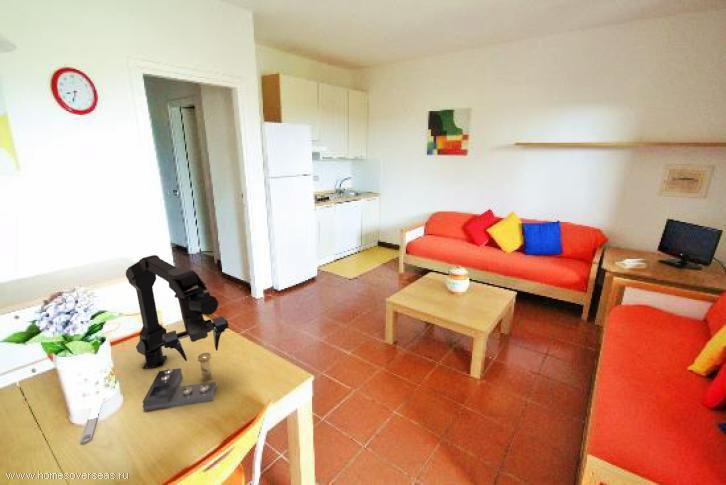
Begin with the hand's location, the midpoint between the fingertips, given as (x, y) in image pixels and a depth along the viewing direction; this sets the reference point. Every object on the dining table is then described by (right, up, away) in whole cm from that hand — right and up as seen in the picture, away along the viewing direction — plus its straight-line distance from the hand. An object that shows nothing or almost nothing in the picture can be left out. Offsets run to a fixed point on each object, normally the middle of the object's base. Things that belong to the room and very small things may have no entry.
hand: (201, 355), depth 112 cm
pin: (-3, -11, +10) cm, 15 cm away
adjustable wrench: (-31, -16, -6) cm, 35 cm away
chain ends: (-7, -13, +3) cm, 15 cm away
